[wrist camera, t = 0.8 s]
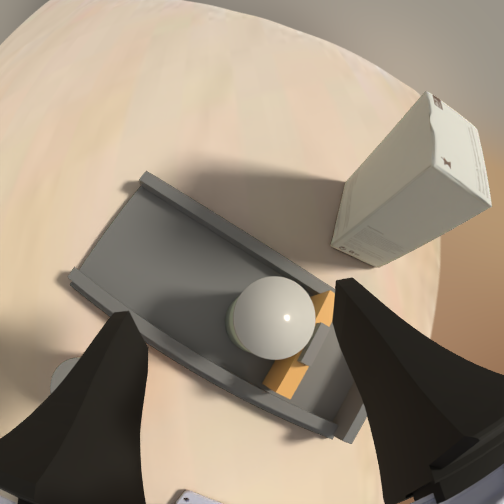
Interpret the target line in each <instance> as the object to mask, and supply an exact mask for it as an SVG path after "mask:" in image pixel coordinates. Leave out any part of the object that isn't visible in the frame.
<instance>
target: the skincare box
mask: <svg viewBox="0 0 504 504" xmlns="http://www.w3.org/2000/svg"><path fill="white" fill-rule="evenodd" d="M490 207H492V205H491V198H490V190H489V184H488V178H487V173H486V168H485V162H484V157H483V152H482V148H481V144H480V139H479V134H478V130H477V128H476V127H474V126H473V125H472V124H471V123H470V122H469V121H467V120H466V119H465V118H464V117H462V116H461V115H460V114H459V113H457V112H456V111H455V110H453V109H452V108H451V107H449V106H448V105H447V104H445V103H444V102H442V101H441V100H440V99H438V98H437V97H435V96H434V95H432V94H431V93H429V92H427V91H425V92H424V94H423V95H422V96H421V97H420V98H419V99H418V100H417V102H416V103H415V104H414V105H413V106H412V107H411V108H410V110H409V111H408V112H407V113H406V114H405V115H404V117H403V118H402V119H401V120H400V121H399V122H398V124H397V125H396V126H395V127H394V128H393V129H392V130H391V132H390V133H389V134H388V135H387V136H386V137H385V138H384V140H383V141H382V142H381V143H380V144H379V145H378V146H377V148H376V149H375V150H374V151H373V152H372V153H371V154H370V155H369V157H368V158H367V159H366V160H365V161H364V162H363V163H362V164H361V166H360V167H359V168H358V169H357V170H356V171H355V172H354V173H353V174H352V176H351V177H350V178H349V179H348V180H347V181H346V182H345V186H344V190H343V195H342V199H341V203H340V207H339V212H338V216H337V220H336V225H335V230H334V235H333V238H332V242H331V247H333V248H335V249H337V250H340V251H342V252H344V253H347V254H349V255H351V256H353V257H355V258H357V259H359V260H361V261H363V262H365V263H367V264H369V265H371V266H373V267H378V268H379V267H381V266H383V265H386V264H388V263H390V262H392V261H394V260H396V259H398V258H400V257H402V256H403V255H405V254H407V253H409V252H411V251H413V250H415V249H417V248H419V247H421V246H423V245H425V244H426V243H428V242H430V241H432V240H434V239H436V238H438V237H439V236H441V235H443V234H444V233H446V232H448V231H450V230H452V229H453V228H455V227H457V226H459V225H460V224H462V223H464V222H466V221H468V220H469V219H471V218H473V217H474V216H476V215H478V214H480V213H481V212H483V211H485V210H486V209H488V208H490Z"/></svg>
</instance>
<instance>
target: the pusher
mask: <svg viewBox="0 0 504 504" xmlns="http://www.w3.org/2000/svg"><path fill="white" fill-rule="evenodd" d="M310 298H311V300H312V303H313V306H314V309H315V317H316V318H315V328H314V331H313V334H312V336H311V338H310V340H309V342H308V343H307V344H306V346H305V347H304V348H303V349H302V350H301V351H299V352H298V353H297V354H295V355H293V356H291V357H288V358H285V359H279V360H275V362H274V363H273V365H272V367H271V369H270V370H269V372H268V374H267V375H266V377H265V379H264V381H263V382H262V384H263V385H265V386H267V387H268V388H270V389H271V390H273V391H274V392H276V393H278V394H280V395H282V396H284V397H286V398H288V399H291V398H292V396H293V394H294V392H295V391H296V389H297V387H298V385H299V384H300V382H301V380H302V378H303V376H304V375H305V373H306V371H307V369H308V367H311V365H312V364H313V362H314V360H315V358H316V356H317V354H318V352H319V350H320V348H321V346H322V344H323V342H324V340H325V338H326V336H327V334H328V332H329V330H330V325H331V322H332V319H333V309H334V298H335V293H334V292H332V291H331V290H329V291H326V292H323V293H320V294H317V295H314V296H311V297H310Z"/></svg>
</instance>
